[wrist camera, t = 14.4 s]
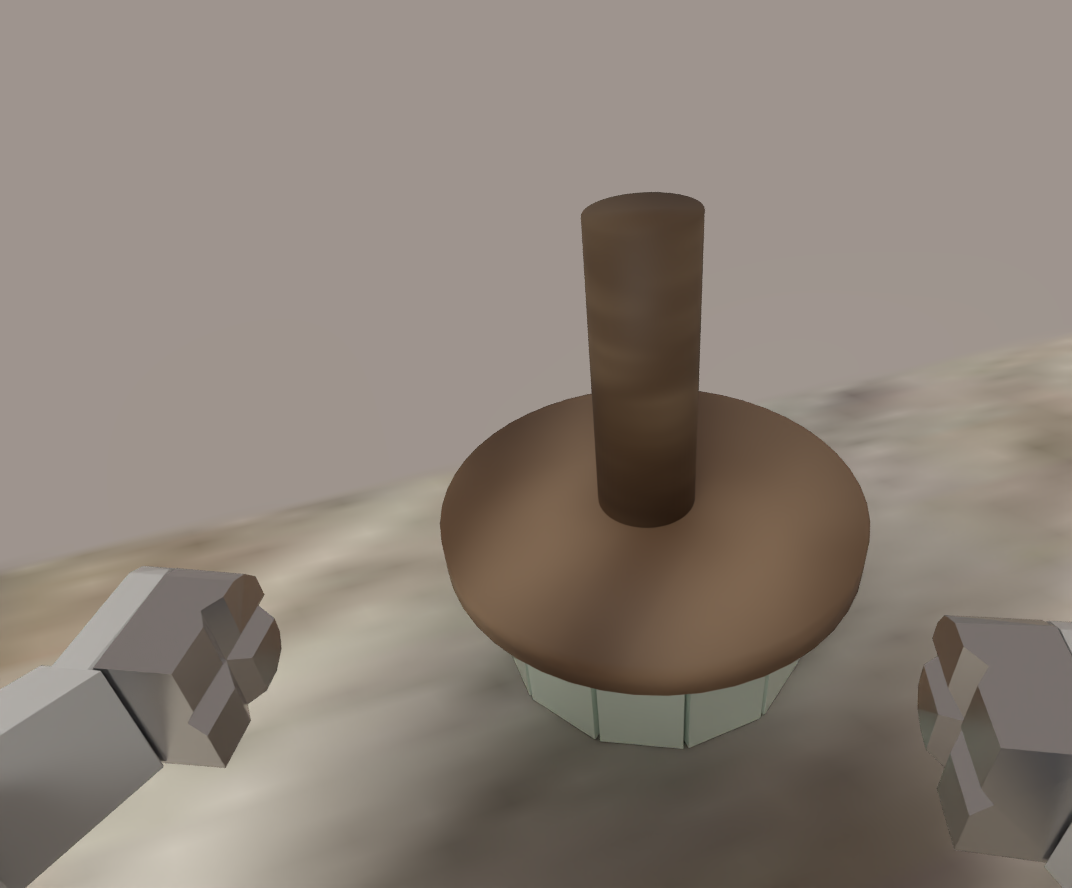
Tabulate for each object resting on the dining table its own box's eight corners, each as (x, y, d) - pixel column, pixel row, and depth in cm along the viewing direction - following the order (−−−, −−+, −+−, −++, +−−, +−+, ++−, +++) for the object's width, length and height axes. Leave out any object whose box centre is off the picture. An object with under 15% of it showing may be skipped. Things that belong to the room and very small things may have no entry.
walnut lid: (392, 675, 20) (285, 337, 15) (493, 412, 31) (453, 153, 25) (909, 717, 18) (1028, 331, 12) (829, 416, 28) (873, 129, 22)
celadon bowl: (481, 730, 24) (460, 635, 21) (534, 521, 32) (523, 433, 29) (813, 761, 22) (834, 660, 19) (781, 530, 30) (792, 437, 27)
